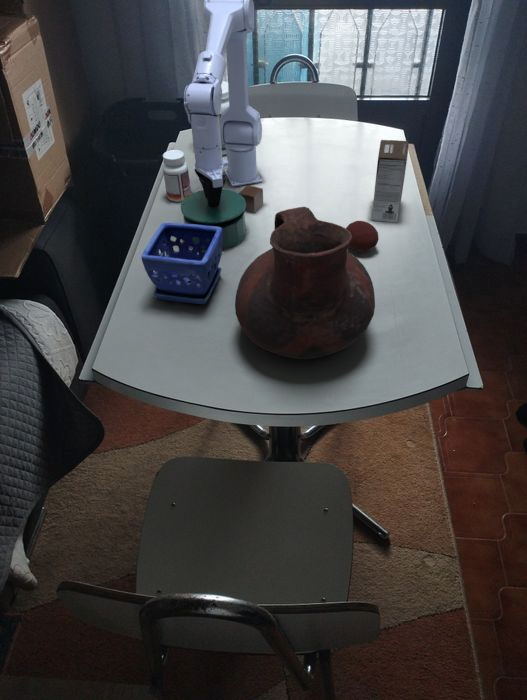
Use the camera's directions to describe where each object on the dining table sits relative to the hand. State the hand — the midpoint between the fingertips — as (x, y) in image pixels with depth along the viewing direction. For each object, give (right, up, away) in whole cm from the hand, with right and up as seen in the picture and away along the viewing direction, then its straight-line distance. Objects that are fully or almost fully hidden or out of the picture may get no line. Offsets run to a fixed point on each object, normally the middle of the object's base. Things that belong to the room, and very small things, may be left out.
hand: (212, 202), depth 133 cm
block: (+8, +2, +14) cm, 16 cm away
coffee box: (+41, 0, +11) cm, 42 cm away
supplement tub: (-2, +25, +39) cm, 46 cm away
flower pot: (-4, -21, -9) cm, 23 cm away
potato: (+33, -10, 0) cm, 34 cm away
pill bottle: (-10, +6, +19) cm, 22 cm away
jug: (+19, -30, -20) cm, 41 cm away
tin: (0, -6, +6) cm, 8 cm away
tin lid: (0, -1, +1) cm, 1 cm away
